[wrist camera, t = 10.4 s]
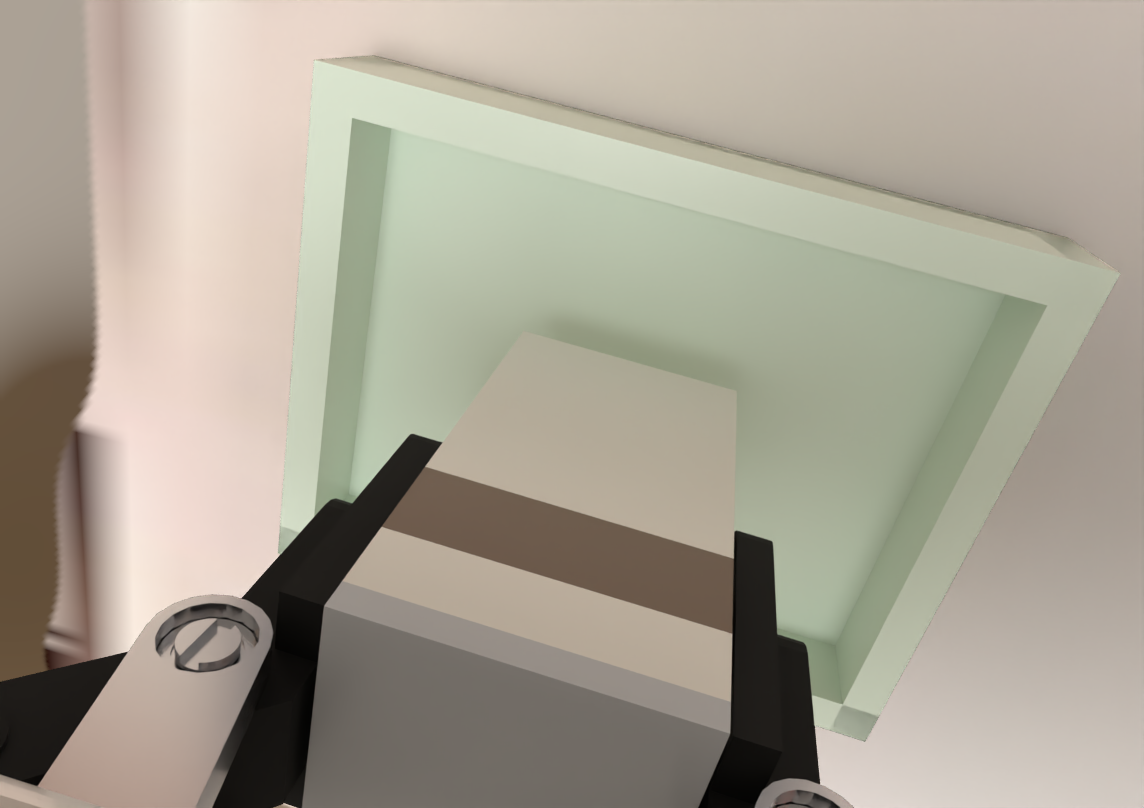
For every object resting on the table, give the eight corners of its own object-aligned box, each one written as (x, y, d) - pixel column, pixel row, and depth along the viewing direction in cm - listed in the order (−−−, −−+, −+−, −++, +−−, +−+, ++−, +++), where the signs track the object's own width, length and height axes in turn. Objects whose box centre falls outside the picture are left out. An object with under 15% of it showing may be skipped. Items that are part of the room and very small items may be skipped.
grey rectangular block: (736, 391, 15) (730, 734, 8) (675, 566, 17) (623, 977, 9) (523, 330, 15) (323, 606, 8) (486, 509, 17) (295, 866, 10)
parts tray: (1067, 238, 16) (1121, 273, 13) (853, 663, 20) (865, 741, 18) (373, 55, 17) (314, 59, 14) (327, 498, 22) (278, 553, 19)
